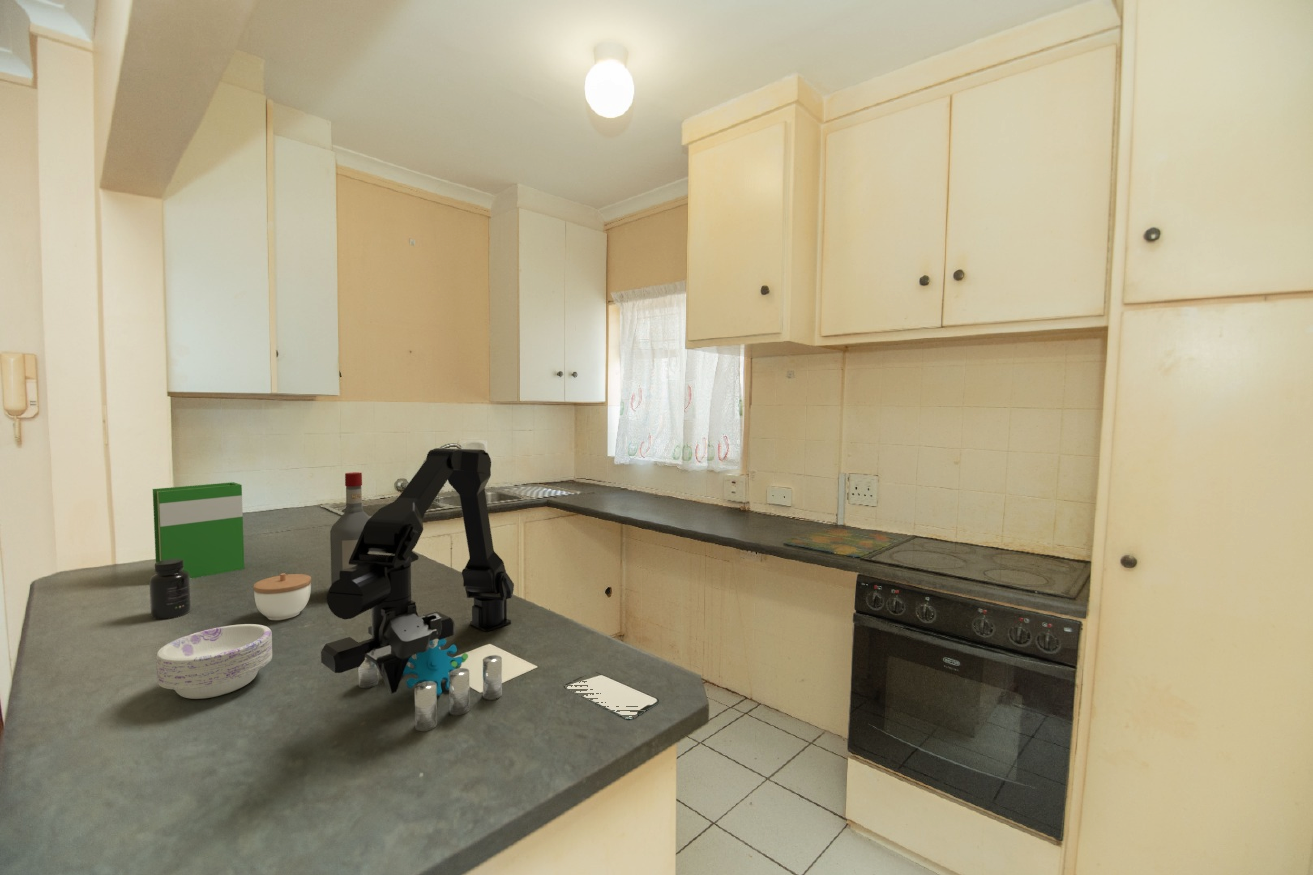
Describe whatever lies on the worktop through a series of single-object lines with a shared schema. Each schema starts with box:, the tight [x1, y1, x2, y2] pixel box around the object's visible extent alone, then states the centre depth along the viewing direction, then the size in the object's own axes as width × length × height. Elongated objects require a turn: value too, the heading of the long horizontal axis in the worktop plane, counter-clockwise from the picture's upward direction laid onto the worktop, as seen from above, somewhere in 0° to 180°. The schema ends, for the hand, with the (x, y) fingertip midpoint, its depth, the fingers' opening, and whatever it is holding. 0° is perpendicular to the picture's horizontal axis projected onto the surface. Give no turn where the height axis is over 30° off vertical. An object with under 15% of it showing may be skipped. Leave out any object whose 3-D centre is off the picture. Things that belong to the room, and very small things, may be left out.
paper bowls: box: [155, 623, 273, 700], centre depth 94 cm, size 15×15×8 cm
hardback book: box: [152, 481, 245, 579], centre depth 154 cm, size 18×7×24 cm, turn 141°
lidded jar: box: [252, 572, 312, 621], centre depth 125 cm, size 11×11×9 cm
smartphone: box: [563, 671, 660, 720], centre depth 93 cm, size 8×1×16 cm
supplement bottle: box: [148, 559, 192, 620], centre depth 125 cm, size 7×7×12 cm
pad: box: [453, 643, 538, 694], centre depth 102 cm, size 12×15×1 cm
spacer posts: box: [357, 639, 503, 732], centre depth 94 cm, size 14×22×6 cm, turn 51°
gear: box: [402, 638, 468, 697], centre depth 95 cm, size 11×6×10 cm
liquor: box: [329, 471, 380, 586], centre depth 140 cm, size 9×9×30 cm
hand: (392, 691), depth 89 cm, fingers closed
